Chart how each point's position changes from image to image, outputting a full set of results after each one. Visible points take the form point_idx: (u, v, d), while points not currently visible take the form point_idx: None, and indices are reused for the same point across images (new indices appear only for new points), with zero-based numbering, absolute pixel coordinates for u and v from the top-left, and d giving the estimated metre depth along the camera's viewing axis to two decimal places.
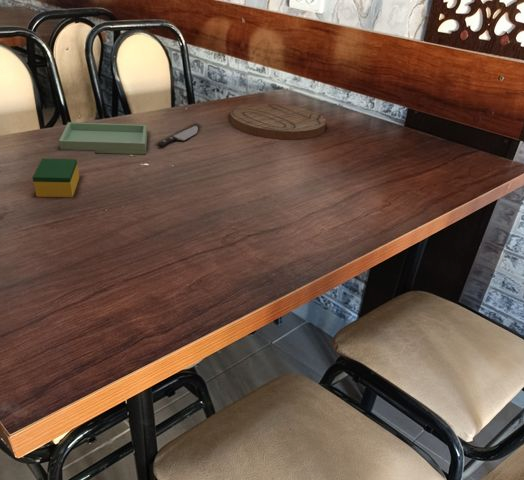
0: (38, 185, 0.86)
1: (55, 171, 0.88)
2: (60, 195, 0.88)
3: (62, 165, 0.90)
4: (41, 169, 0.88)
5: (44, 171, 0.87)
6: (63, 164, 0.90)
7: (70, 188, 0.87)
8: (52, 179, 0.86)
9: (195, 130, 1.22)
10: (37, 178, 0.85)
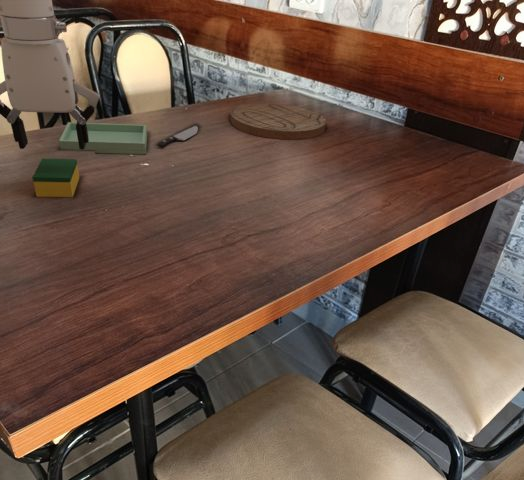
0: (38, 185, 0.86)
1: (55, 171, 0.88)
2: (60, 195, 0.88)
3: (62, 165, 0.90)
4: (41, 169, 0.88)
5: (44, 171, 0.87)
6: (63, 164, 0.90)
7: (70, 188, 0.87)
8: (52, 179, 0.86)
9: (195, 130, 1.22)
10: (37, 178, 0.85)
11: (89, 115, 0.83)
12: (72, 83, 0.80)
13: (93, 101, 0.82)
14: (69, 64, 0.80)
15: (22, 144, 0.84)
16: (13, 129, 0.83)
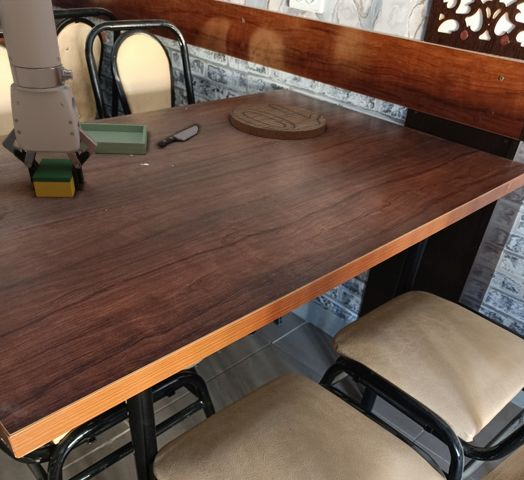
0: (38, 185, 0.86)
1: (55, 171, 0.88)
2: (60, 195, 0.88)
3: (62, 165, 0.90)
4: (41, 169, 0.88)
5: (44, 171, 0.87)
6: (63, 164, 0.90)
7: (70, 188, 0.87)
8: (52, 179, 0.86)
9: (195, 130, 1.22)
10: (37, 178, 0.85)
11: (84, 159, 0.88)
12: (77, 126, 0.84)
13: (91, 149, 0.87)
14: (74, 108, 0.84)
15: None
16: (30, 172, 0.88)
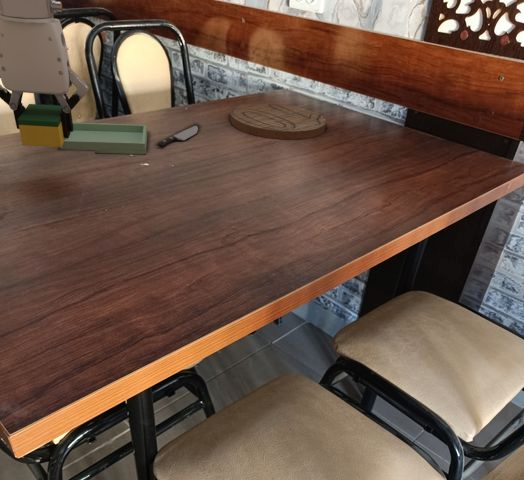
0: (24, 129, 0.80)
1: (43, 115, 0.82)
2: (47, 141, 0.82)
3: (50, 110, 0.84)
4: (27, 113, 0.82)
5: (30, 115, 0.81)
6: (52, 109, 0.85)
7: (58, 133, 0.81)
8: (39, 122, 0.80)
9: (195, 130, 1.22)
10: (23, 121, 0.80)
11: (74, 104, 0.82)
12: (66, 65, 0.78)
13: (81, 92, 0.81)
14: (64, 45, 0.78)
15: None
16: (15, 116, 0.82)
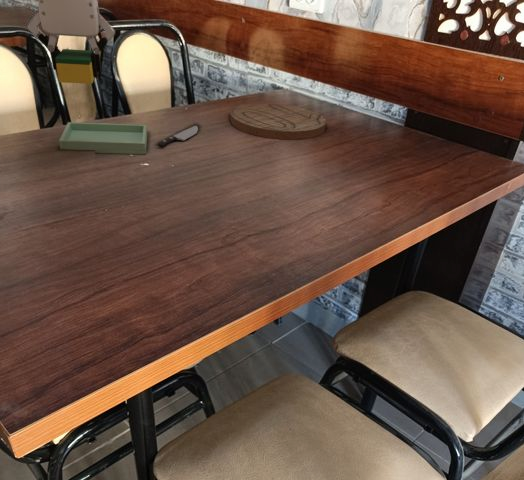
0: (60, 67, 0.93)
1: (76, 56, 0.95)
2: (80, 78, 0.95)
3: (81, 53, 0.97)
4: (63, 54, 0.95)
5: (65, 55, 0.94)
6: (83, 52, 0.98)
7: (89, 71, 0.94)
8: (73, 61, 0.93)
9: (195, 130, 1.22)
10: (59, 59, 0.93)
11: (102, 46, 0.95)
12: (96, 10, 0.91)
13: (109, 35, 0.94)
14: None
15: None
16: (52, 57, 0.95)
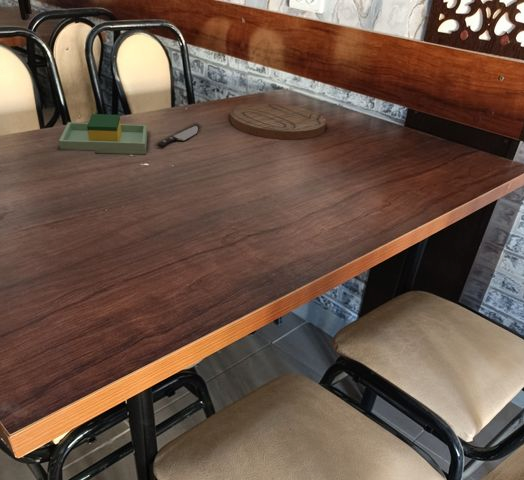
0: (91, 133, 1.06)
1: (104, 122, 1.08)
2: None
3: (109, 118, 1.10)
4: (93, 121, 1.08)
5: (95, 122, 1.07)
6: (110, 118, 1.10)
7: (117, 136, 1.07)
8: (103, 128, 1.06)
9: (195, 130, 1.22)
10: (91, 127, 1.05)
11: None
12: None
13: None
14: None
15: None
16: None
